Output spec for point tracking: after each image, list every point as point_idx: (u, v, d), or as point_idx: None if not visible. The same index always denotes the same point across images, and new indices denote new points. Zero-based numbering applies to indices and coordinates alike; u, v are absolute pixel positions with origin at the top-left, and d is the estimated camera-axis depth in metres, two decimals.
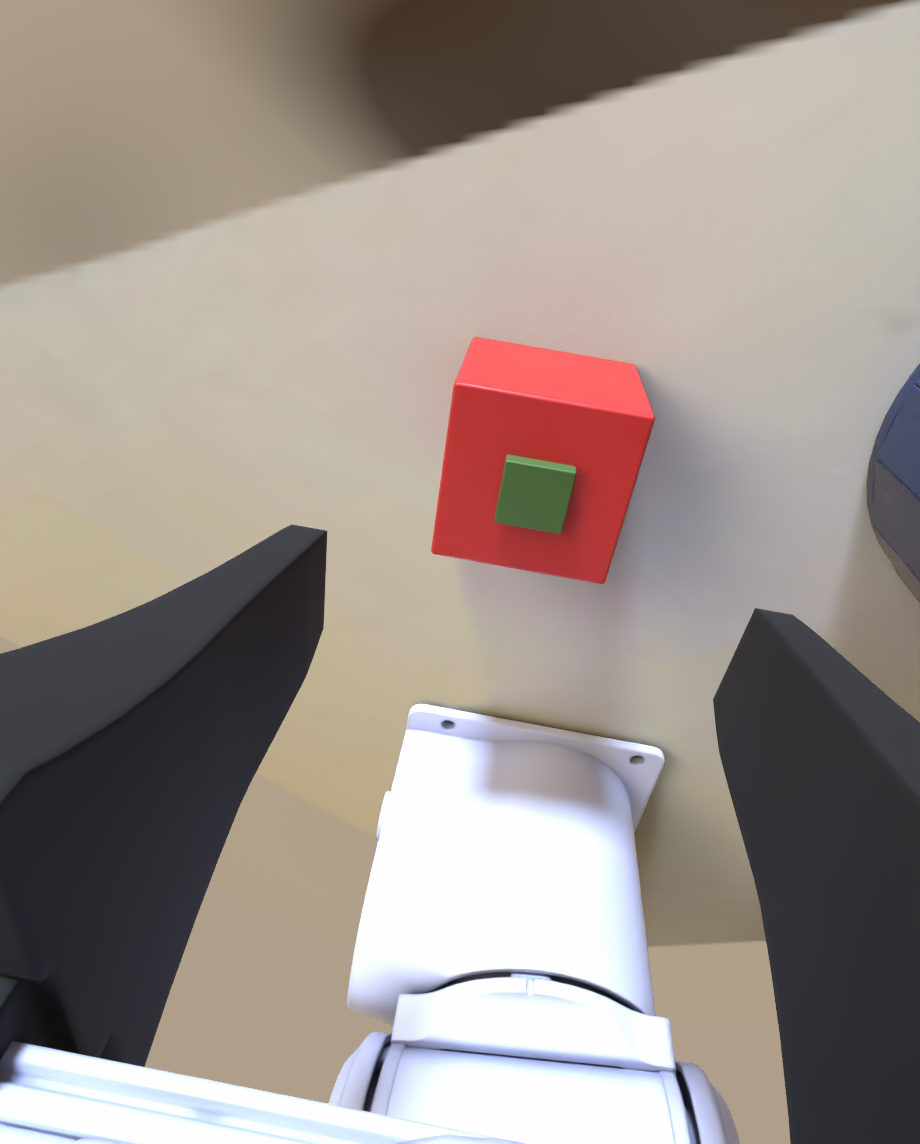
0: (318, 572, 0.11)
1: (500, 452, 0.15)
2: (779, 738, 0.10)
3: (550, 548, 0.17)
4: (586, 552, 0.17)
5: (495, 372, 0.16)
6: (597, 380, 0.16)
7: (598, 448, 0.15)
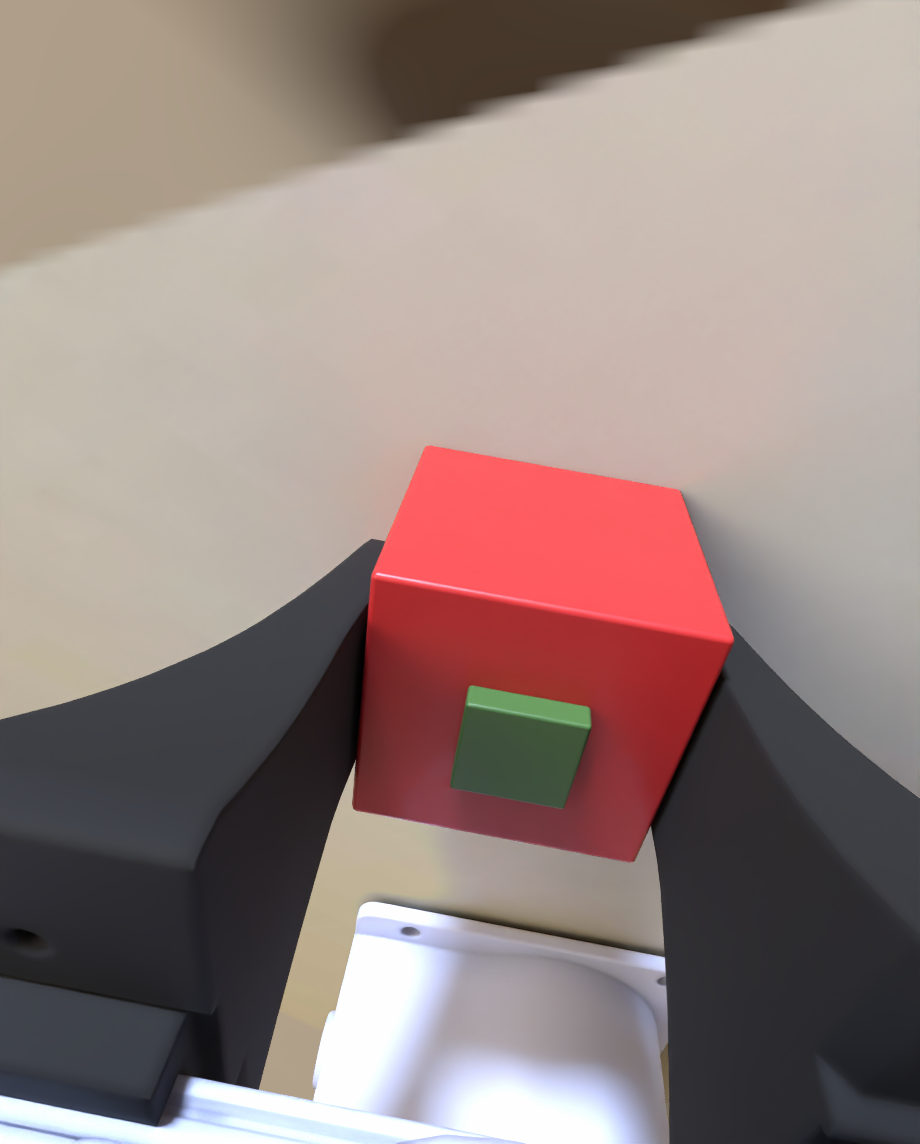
0: None
1: (458, 681, 0.09)
2: None
3: (546, 814, 0.10)
4: (606, 822, 0.10)
5: (450, 536, 0.09)
6: (624, 538, 0.10)
7: (630, 682, 0.09)
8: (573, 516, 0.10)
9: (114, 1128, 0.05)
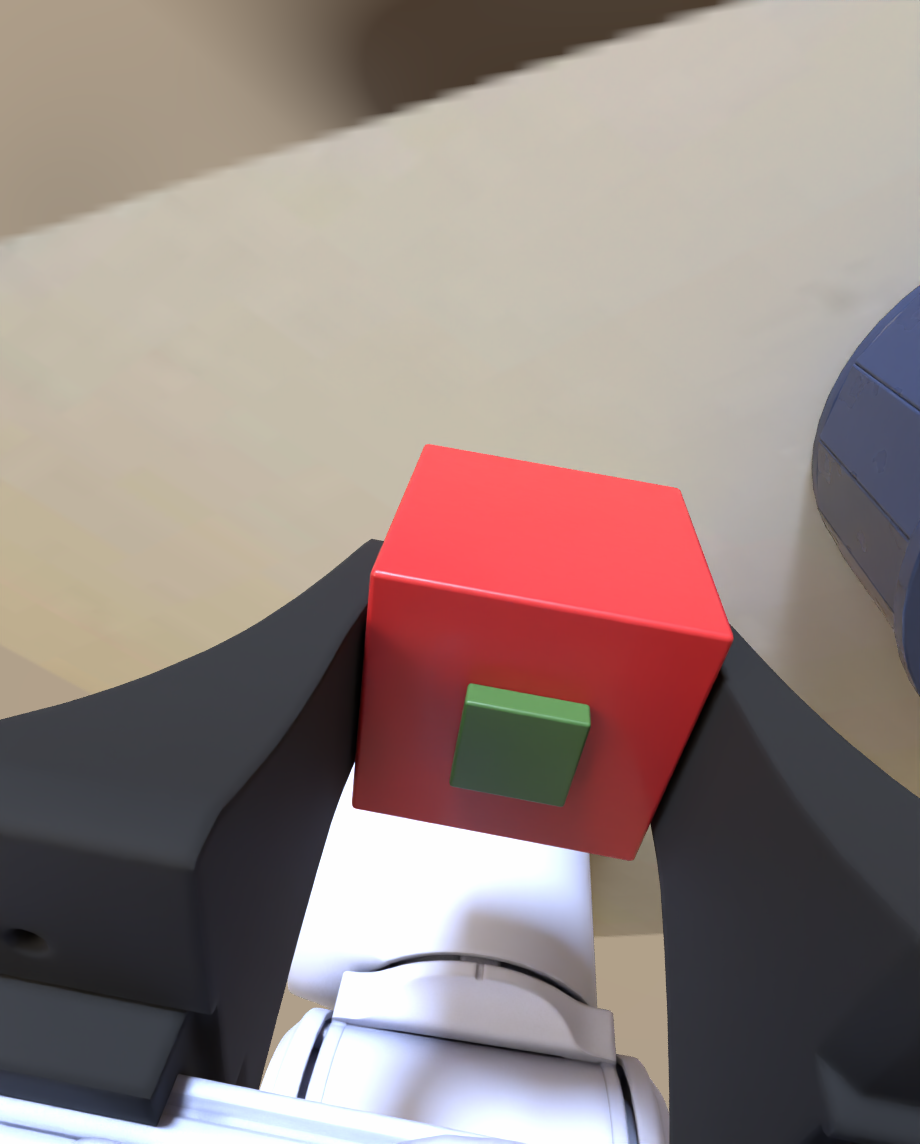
0: None
1: (458, 678, 0.09)
2: None
3: (545, 812, 0.10)
4: (605, 821, 0.10)
5: (450, 535, 0.09)
6: (623, 536, 0.10)
7: (630, 680, 0.09)
8: (572, 514, 0.10)
9: (114, 1128, 0.05)
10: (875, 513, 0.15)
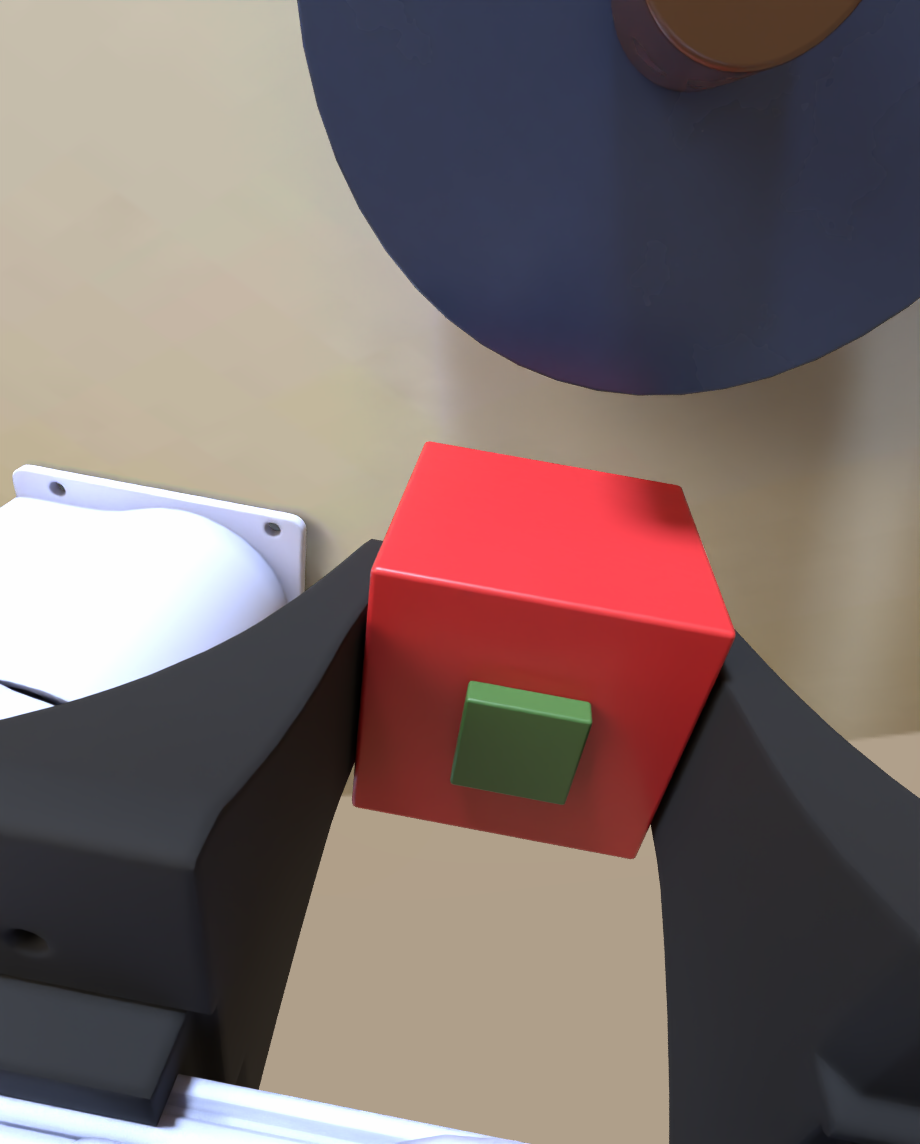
0: None
1: (459, 676, 0.09)
2: None
3: (546, 810, 0.10)
4: (606, 818, 0.10)
5: (451, 531, 0.09)
6: (624, 533, 0.10)
7: (630, 677, 0.09)
8: (573, 511, 0.10)
9: (115, 1128, 0.05)
10: None
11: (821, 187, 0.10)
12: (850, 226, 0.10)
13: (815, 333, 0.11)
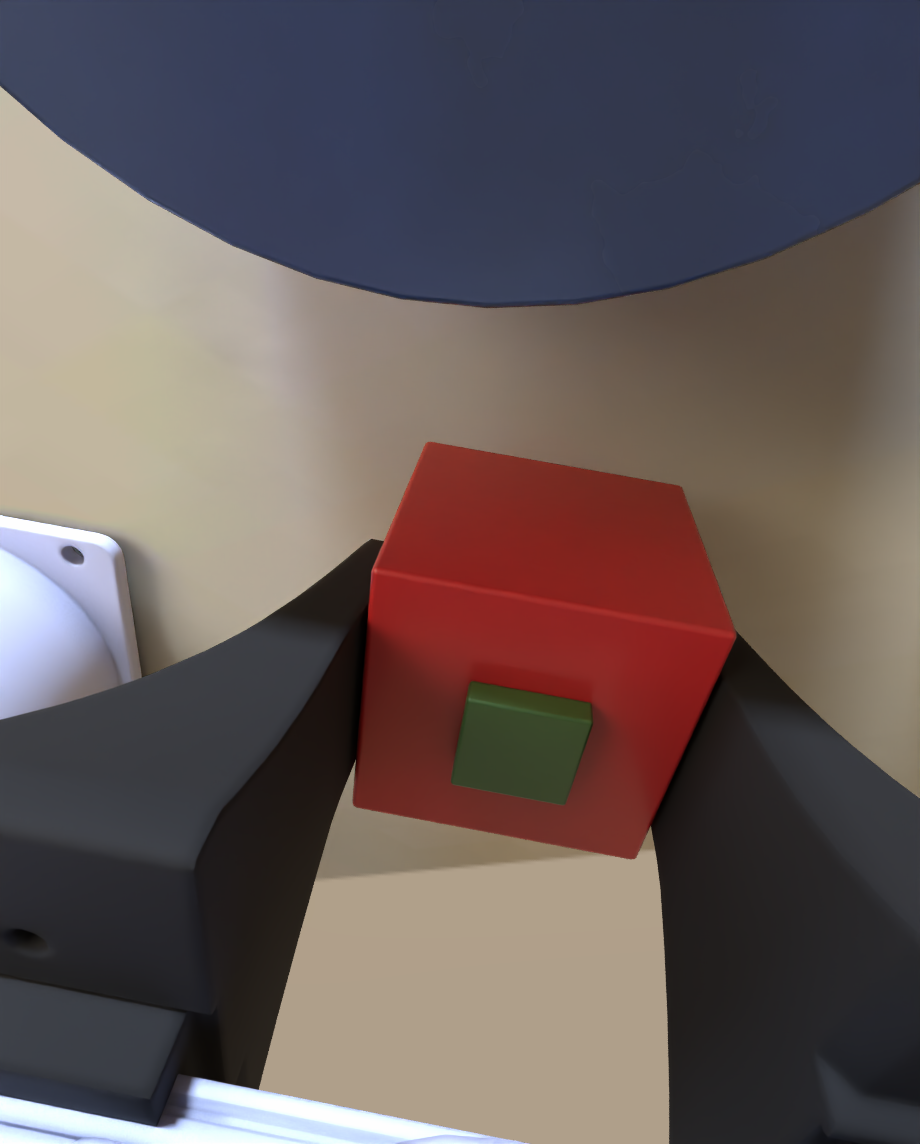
0: None
1: (460, 676, 0.09)
2: None
3: (547, 811, 0.10)
4: (607, 819, 0.10)
5: (452, 531, 0.09)
6: (625, 533, 0.10)
7: (632, 678, 0.09)
8: (574, 512, 0.10)
9: (114, 1128, 0.05)
10: None
11: None
12: None
13: (868, 143, 0.05)
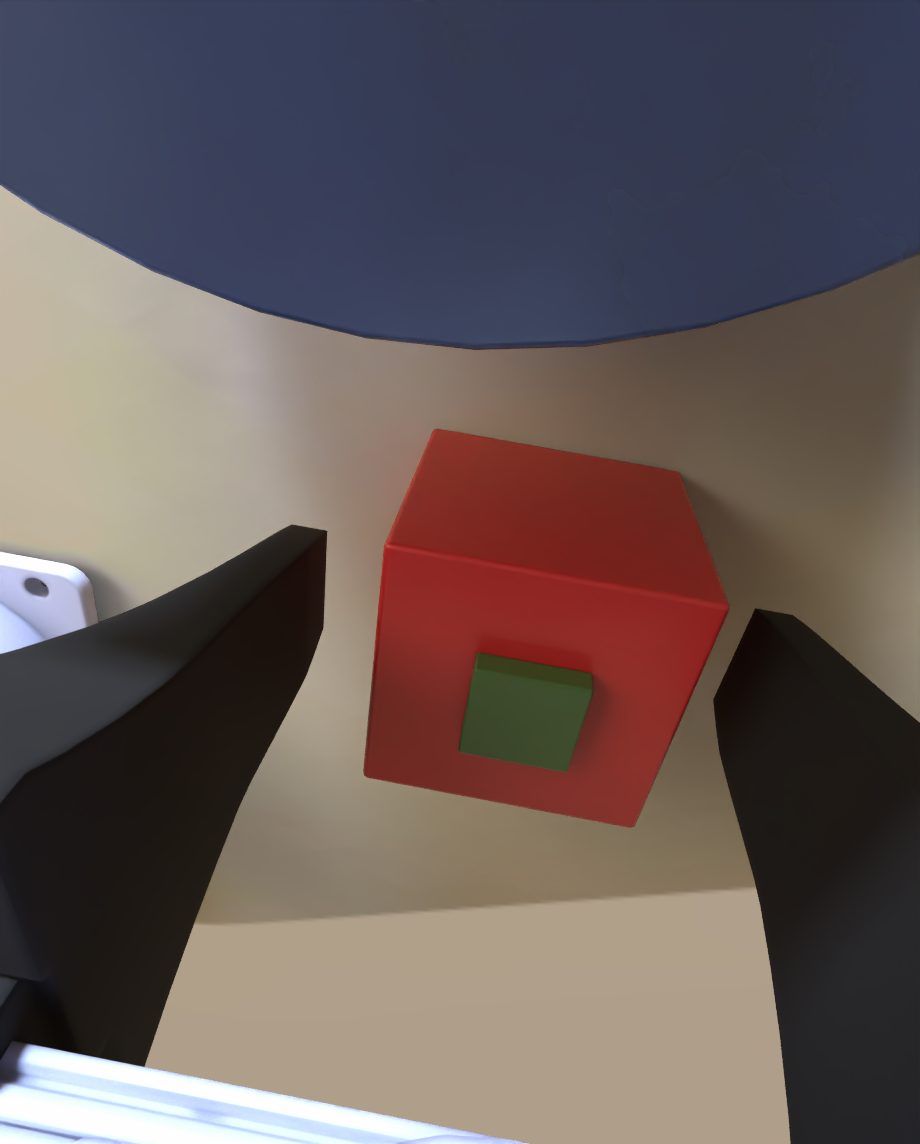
0: (319, 572, 0.11)
1: (467, 648, 0.09)
2: (779, 738, 0.10)
3: (549, 779, 0.10)
4: (607, 787, 0.10)
5: (460, 511, 0.10)
6: (625, 514, 0.10)
7: (630, 648, 0.09)
8: (576, 494, 0.11)
9: None
10: None
11: None
12: None
13: None
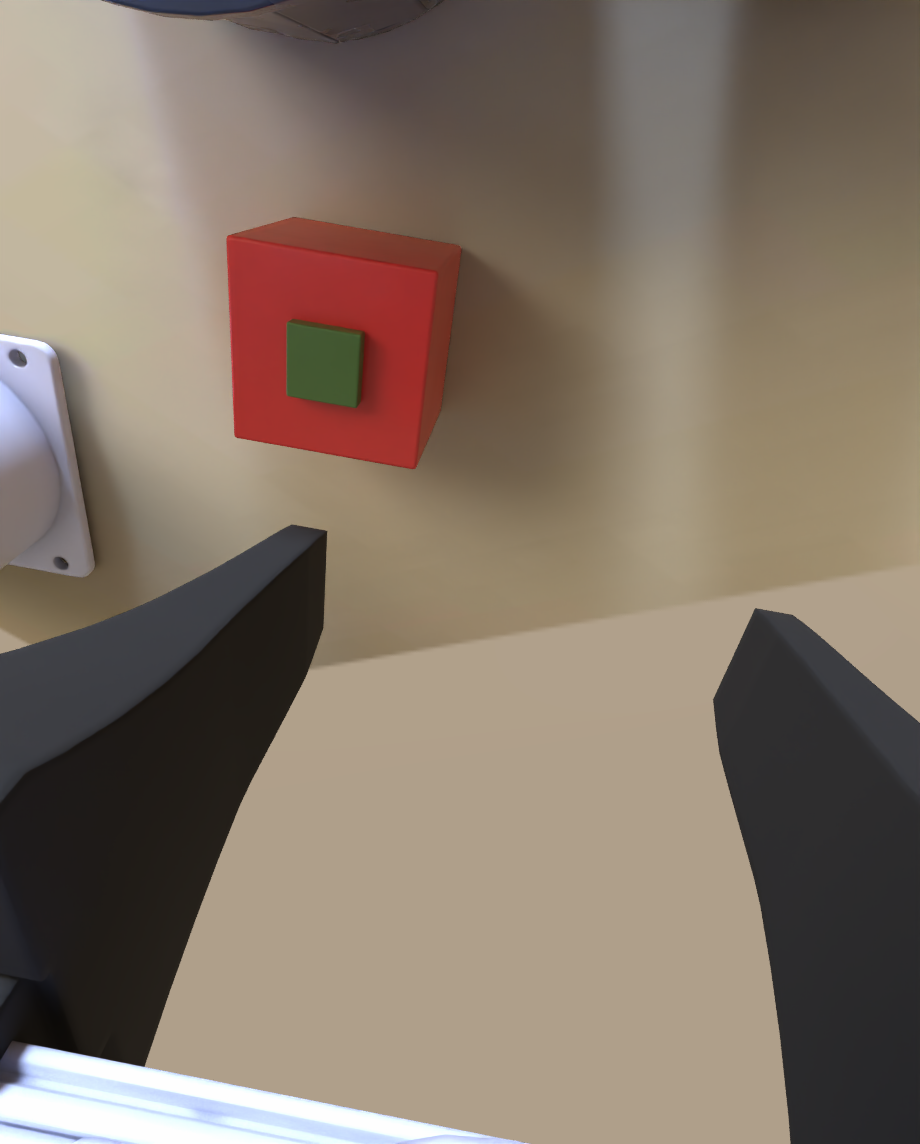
0: (319, 572, 0.11)
1: (285, 317, 0.15)
2: (779, 738, 0.10)
3: (354, 428, 0.16)
4: (391, 432, 0.16)
5: (284, 234, 0.15)
6: (400, 248, 0.15)
7: (384, 309, 0.14)
8: (373, 240, 0.16)
9: None
10: None
11: None
12: None
13: None
